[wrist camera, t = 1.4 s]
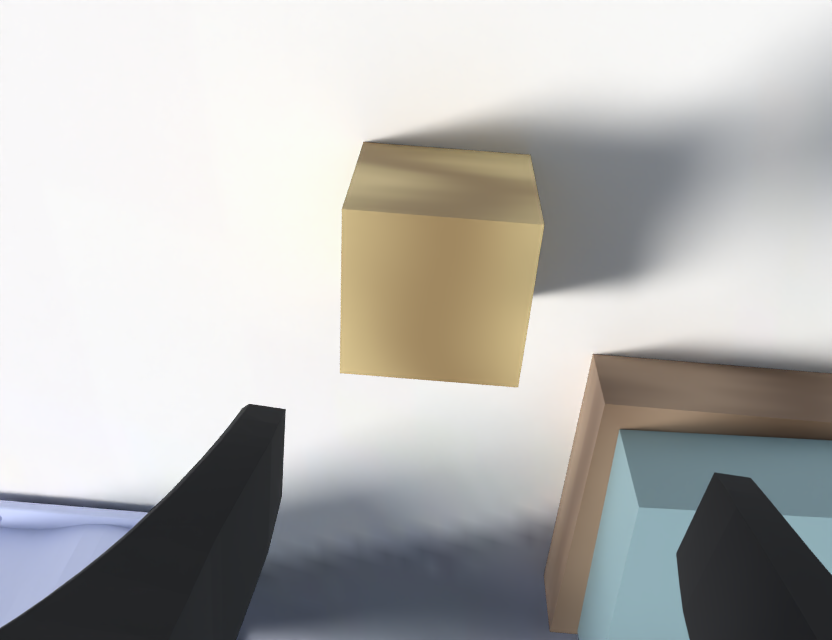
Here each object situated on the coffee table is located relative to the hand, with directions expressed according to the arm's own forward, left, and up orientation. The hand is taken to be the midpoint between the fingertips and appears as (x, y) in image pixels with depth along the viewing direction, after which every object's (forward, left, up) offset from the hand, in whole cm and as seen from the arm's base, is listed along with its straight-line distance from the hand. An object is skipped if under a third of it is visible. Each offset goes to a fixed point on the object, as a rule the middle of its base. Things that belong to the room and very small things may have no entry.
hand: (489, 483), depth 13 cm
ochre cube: (-1, 0, -10) cm, 10 cm away
